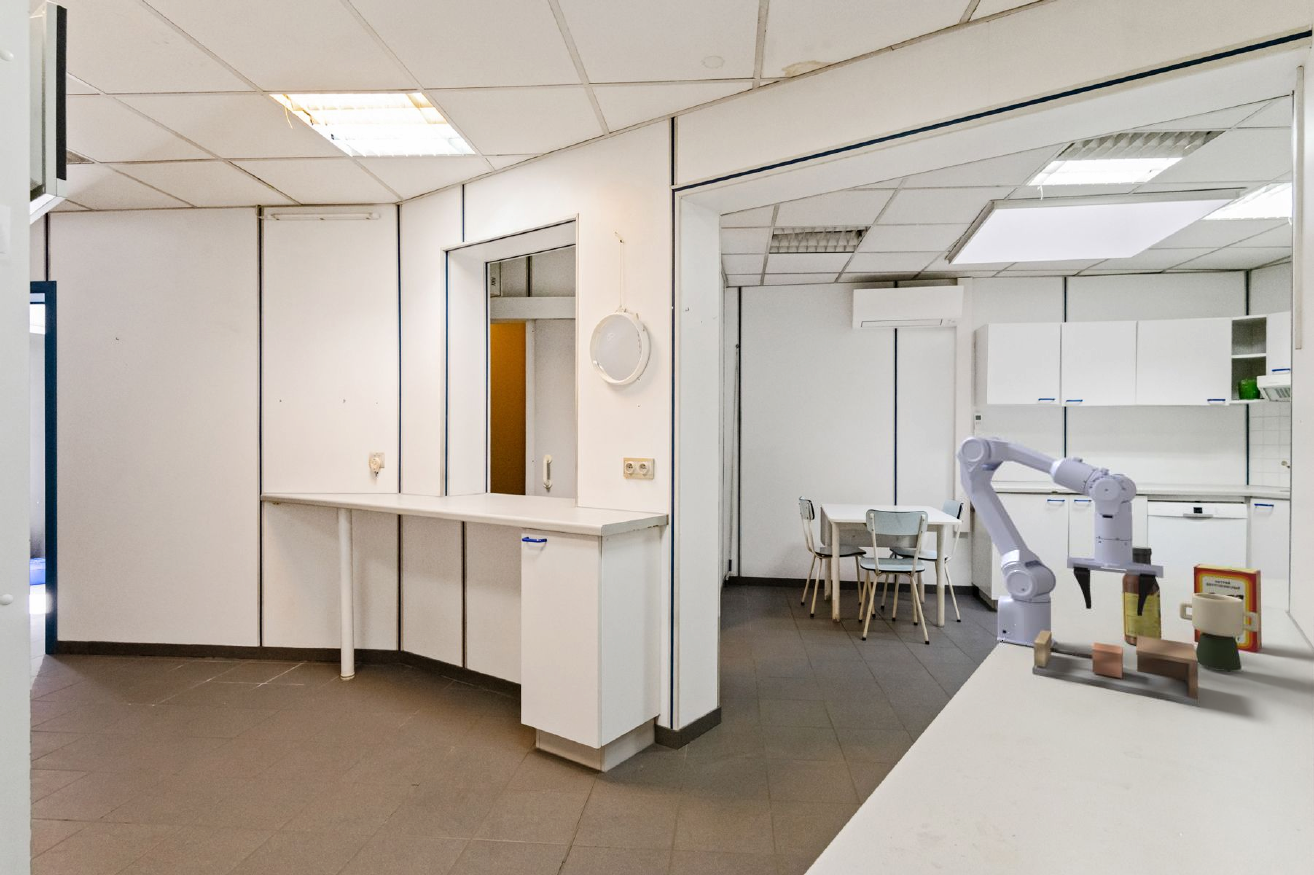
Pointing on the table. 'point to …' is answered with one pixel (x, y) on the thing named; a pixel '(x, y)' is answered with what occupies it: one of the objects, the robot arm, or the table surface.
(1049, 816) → the table surface
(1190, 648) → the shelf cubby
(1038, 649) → the pull block
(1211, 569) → the baking soda box
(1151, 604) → the sauce bottle
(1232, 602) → the character mug
